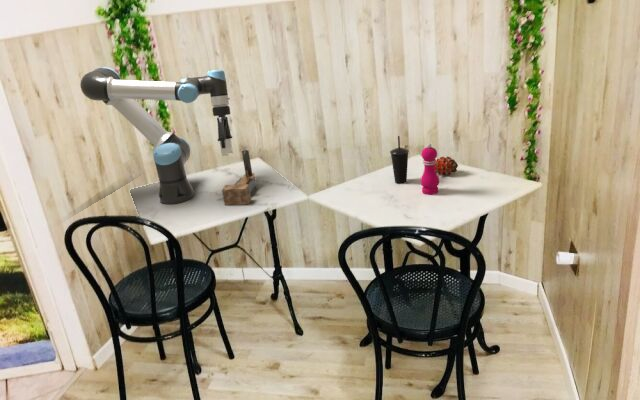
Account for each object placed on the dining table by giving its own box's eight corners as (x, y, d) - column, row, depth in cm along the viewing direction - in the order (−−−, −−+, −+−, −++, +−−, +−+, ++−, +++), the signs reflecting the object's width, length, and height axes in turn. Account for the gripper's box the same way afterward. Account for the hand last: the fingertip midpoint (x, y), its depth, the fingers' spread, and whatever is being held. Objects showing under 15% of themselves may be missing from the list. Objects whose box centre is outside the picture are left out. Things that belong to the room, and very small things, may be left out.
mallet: (236, 194, 223) (230, 161, 218) (247, 181, 237) (241, 150, 231) (245, 194, 223) (239, 161, 217) (255, 181, 236) (250, 149, 230)
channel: (234, 197, 225) (232, 186, 223) (242, 188, 234) (240, 177, 232) (249, 196, 224) (248, 185, 222) (256, 187, 233) (254, 177, 231)
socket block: (224, 205, 218) (221, 189, 215) (228, 200, 222) (225, 185, 220) (247, 204, 216) (244, 188, 213) (251, 199, 220) (248, 184, 218)
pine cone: (460, 179, 221) (432, 181, 226) (460, 162, 225) (432, 165, 231) (456, 167, 215) (427, 171, 220) (456, 151, 219) (428, 154, 224)
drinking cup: (411, 184, 217) (409, 138, 210) (392, 185, 218) (390, 139, 210) (408, 177, 224) (406, 132, 217) (390, 179, 225) (388, 134, 217)
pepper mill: (439, 195, 204) (438, 146, 196) (420, 195, 205) (419, 147, 198) (439, 188, 210) (438, 140, 203) (421, 188, 212) (419, 141, 204)
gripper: (224, 105, 216) (231, 155, 220) (233, 105, 241) (239, 151, 245) (206, 107, 216) (214, 157, 220) (217, 107, 241) (223, 153, 245)
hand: (227, 154), depth 232 cm, fingers open, 13 cm apart
